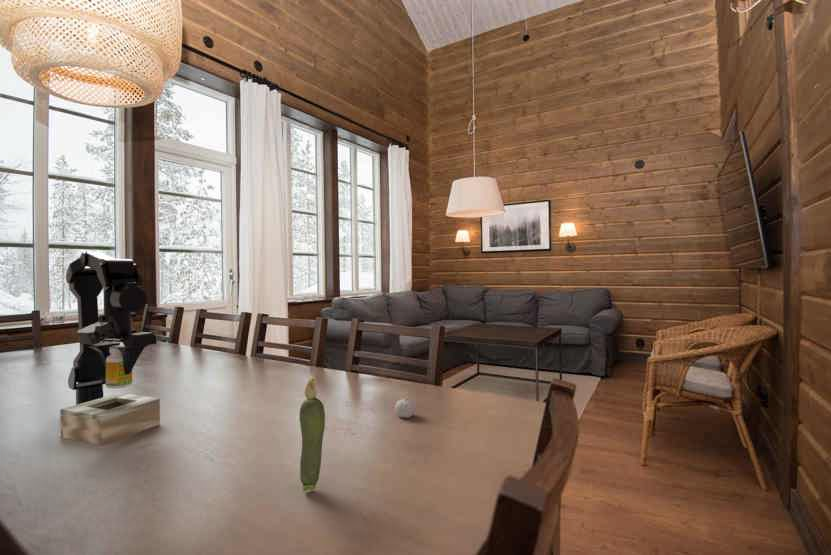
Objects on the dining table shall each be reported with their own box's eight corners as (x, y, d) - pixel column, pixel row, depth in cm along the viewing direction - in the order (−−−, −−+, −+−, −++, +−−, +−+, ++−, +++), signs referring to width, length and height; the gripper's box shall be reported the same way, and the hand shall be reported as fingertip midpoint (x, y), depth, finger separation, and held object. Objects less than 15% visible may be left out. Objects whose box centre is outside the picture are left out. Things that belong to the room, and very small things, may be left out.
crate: (60, 437, 99) (60, 409, 99) (119, 417, 113) (119, 392, 113) (103, 445, 95) (102, 416, 95) (159, 424, 108) (159, 398, 108)
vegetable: (302, 483, 78) (301, 373, 78) (326, 482, 78) (326, 373, 78) (297, 496, 74) (297, 380, 73) (323, 495, 74) (323, 379, 74)
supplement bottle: (119, 389, 103) (119, 349, 103) (99, 388, 104) (100, 347, 104) (137, 383, 108) (137, 345, 108) (119, 382, 109) (119, 344, 109)
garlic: (420, 416, 114) (420, 397, 114) (406, 422, 110) (406, 401, 110) (404, 411, 118) (404, 392, 118) (390, 416, 114) (390, 396, 114)
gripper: (55, 312, 101) (56, 378, 101) (113, 313, 95) (114, 384, 95) (103, 308, 111) (103, 368, 112) (158, 309, 106) (159, 373, 106)
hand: (118, 373), depth 106 cm, fingers closed on supplement bottle, 5 cm apart
